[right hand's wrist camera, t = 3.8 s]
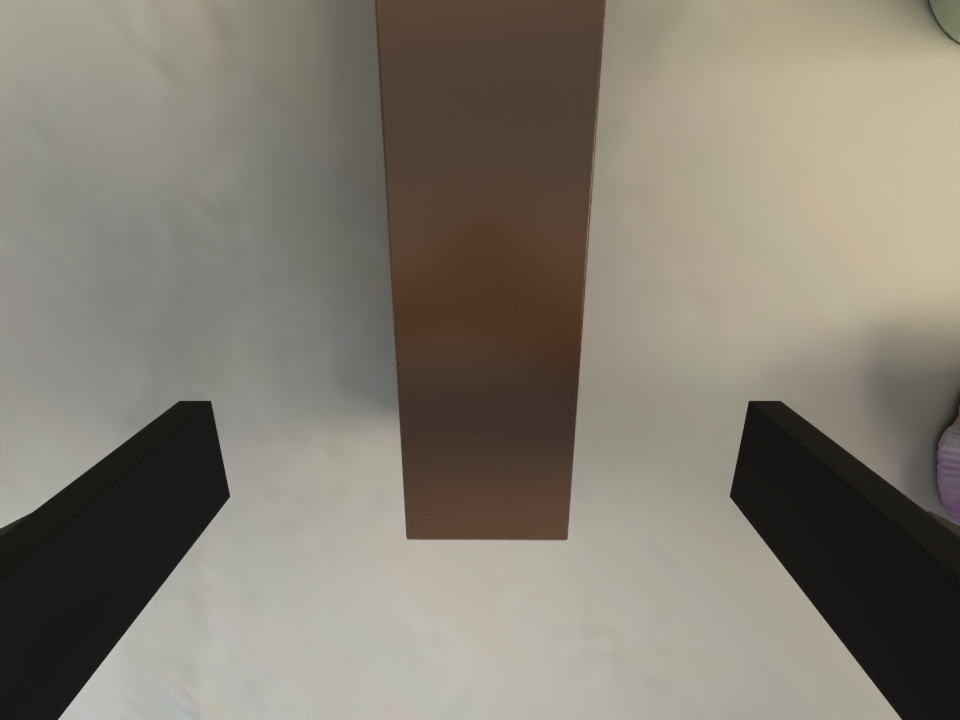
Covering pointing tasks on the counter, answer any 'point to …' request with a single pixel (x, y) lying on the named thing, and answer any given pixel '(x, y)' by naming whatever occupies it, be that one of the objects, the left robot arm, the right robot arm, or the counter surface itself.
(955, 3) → the pale green cylinder
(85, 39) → the counter surface
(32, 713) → the right robot arm
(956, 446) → the figurine
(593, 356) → the counter surface
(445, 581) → the counter surface
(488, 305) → the walnut box
